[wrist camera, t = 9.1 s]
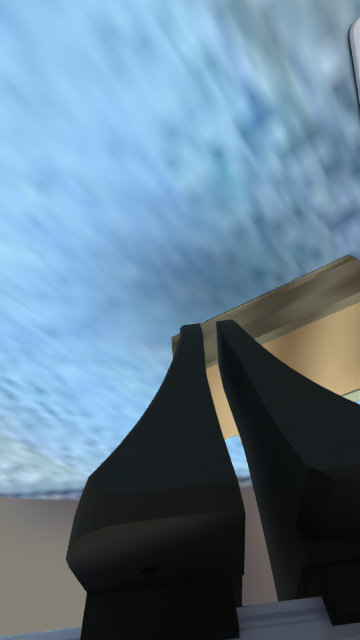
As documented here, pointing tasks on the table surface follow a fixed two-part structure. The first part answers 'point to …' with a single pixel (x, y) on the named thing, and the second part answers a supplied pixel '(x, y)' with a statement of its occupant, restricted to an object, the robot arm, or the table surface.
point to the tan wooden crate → (298, 331)
